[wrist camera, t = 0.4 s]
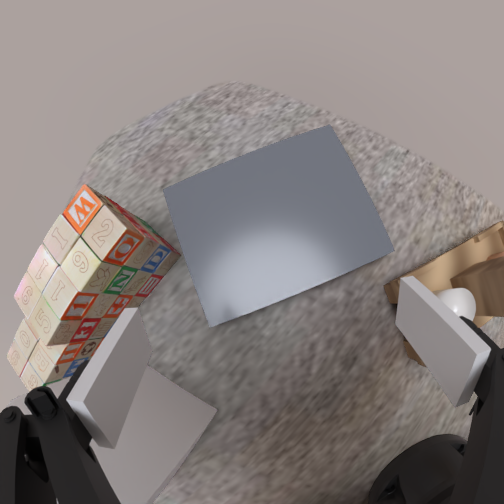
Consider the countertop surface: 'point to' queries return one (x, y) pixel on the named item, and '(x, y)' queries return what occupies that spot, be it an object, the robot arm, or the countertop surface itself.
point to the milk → (148, 437)
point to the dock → (274, 224)
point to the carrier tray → (451, 267)
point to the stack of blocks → (83, 285)
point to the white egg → (458, 301)
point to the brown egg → (495, 255)
